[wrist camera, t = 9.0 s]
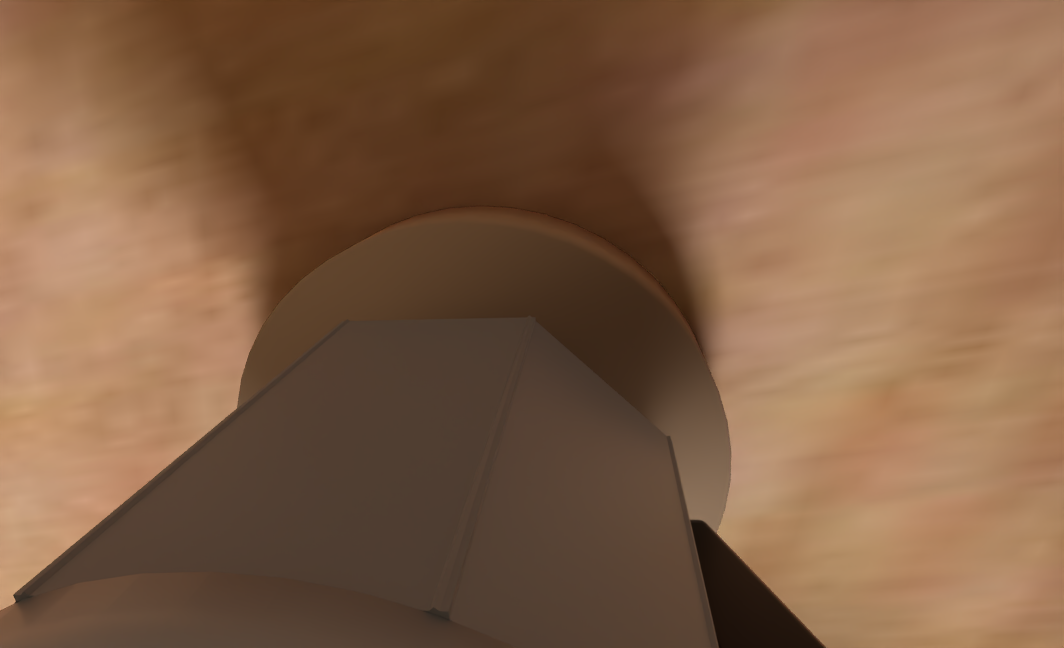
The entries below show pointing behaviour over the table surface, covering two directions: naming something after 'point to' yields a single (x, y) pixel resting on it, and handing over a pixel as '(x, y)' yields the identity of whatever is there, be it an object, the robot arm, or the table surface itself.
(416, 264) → the stub
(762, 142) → the table surface
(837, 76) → the table surface
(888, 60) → the table surface
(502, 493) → the cap
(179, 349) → the table surface
